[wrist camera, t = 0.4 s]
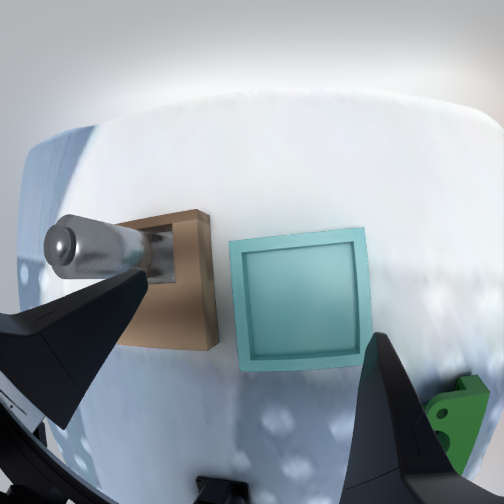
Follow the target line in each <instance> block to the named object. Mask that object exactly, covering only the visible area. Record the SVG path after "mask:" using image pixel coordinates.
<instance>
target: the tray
mask: <svg viewBox="0 0 504 504" xmlns="http://www.w3.org/2000/svg"><path fill="white" fill-rule="evenodd" d="M229 253H230V267H231V280H232V292H233V304H234V316H235V327H236V338H237V349H238V359H239V369H240V371H248V372H259V371H296V370H313V369H327V368H338V367H347V366H356V365H363V361H364V355H365V350H366V347H367V345H368V343H369V341H370V340H371V338H372V316H371V294H370V279H369V266H368V256H367V246H366V238H365V229H364V227H363V228H352V229H342V230H332V231H322V232H312V233H302V234H292V235H283V236H273V237H264V238H255V239H246V240H237V241H229Z"/></svg>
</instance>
